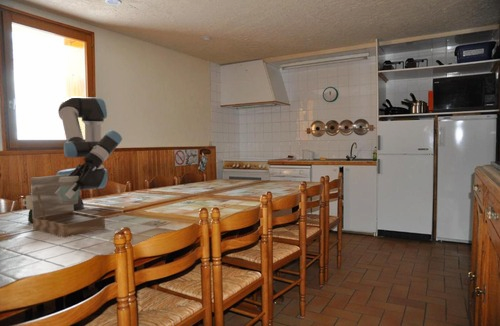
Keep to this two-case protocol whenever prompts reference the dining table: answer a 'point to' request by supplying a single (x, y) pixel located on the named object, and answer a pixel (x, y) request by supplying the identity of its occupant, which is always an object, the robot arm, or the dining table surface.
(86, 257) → the dining table surface
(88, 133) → the robot arm
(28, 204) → the character mug
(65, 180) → the coffee cup
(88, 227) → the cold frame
